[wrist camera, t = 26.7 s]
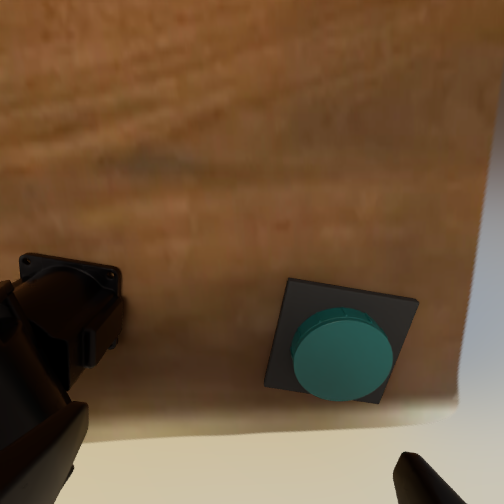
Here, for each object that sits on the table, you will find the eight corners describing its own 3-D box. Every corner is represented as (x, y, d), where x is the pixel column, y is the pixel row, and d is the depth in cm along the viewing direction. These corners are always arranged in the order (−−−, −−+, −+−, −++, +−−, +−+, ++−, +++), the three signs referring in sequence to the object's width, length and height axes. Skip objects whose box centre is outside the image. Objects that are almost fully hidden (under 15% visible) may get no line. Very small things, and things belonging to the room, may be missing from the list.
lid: (331, 397, 24) (336, 416, 22) (272, 346, 23) (273, 361, 21) (402, 348, 22) (413, 364, 21) (343, 288, 21) (350, 301, 19)
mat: (263, 381, 24) (264, 387, 24) (288, 277, 21) (288, 280, 21) (376, 398, 25) (379, 404, 24) (415, 298, 22) (420, 302, 21)
